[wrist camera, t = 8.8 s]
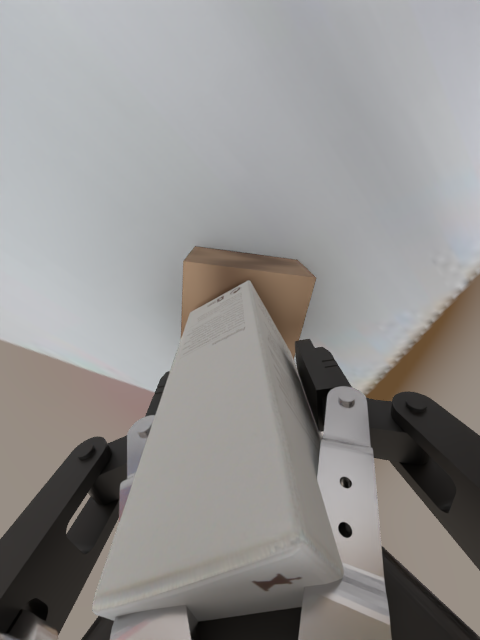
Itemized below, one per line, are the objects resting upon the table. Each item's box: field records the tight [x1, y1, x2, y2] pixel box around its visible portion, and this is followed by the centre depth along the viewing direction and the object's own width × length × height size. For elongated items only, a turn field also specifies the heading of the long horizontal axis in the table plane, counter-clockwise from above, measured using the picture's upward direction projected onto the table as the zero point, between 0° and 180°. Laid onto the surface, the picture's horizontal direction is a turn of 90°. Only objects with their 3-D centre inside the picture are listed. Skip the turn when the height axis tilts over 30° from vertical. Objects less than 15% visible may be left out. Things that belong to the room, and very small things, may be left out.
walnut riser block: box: [181, 246, 316, 359], centre depth 19 cm, size 8×8×5 cm
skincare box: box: [92, 280, 344, 621], centre depth 10 cm, size 6×4×12 cm
